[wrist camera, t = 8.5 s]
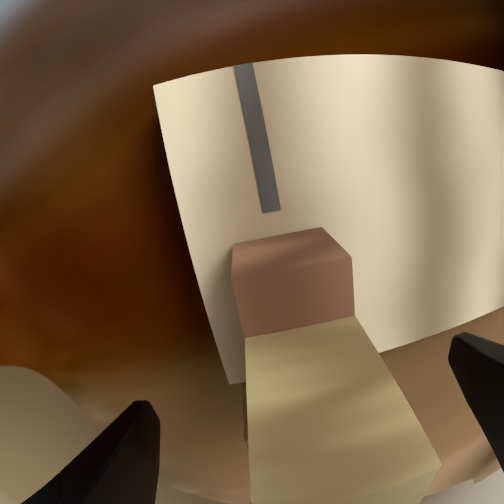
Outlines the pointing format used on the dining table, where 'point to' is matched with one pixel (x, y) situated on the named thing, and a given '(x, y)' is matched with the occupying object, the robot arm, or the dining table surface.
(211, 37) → the dining table surface
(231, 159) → the board
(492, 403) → the robot arm
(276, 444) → the stacked cube assembly
